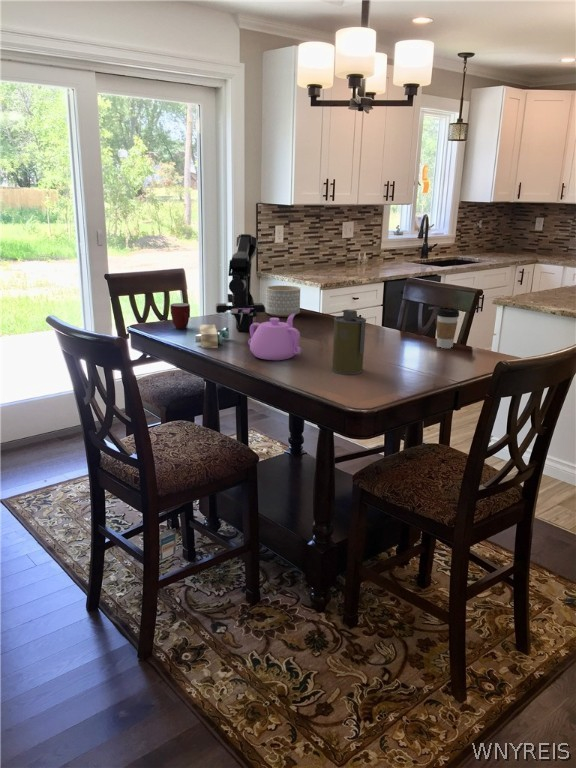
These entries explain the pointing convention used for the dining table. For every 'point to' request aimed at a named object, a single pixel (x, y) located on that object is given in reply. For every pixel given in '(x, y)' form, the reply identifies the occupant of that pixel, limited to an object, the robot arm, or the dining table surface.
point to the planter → (282, 300)
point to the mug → (180, 314)
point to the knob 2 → (224, 333)
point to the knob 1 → (198, 338)
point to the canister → (348, 343)
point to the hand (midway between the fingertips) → (240, 329)
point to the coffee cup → (446, 326)
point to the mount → (208, 336)
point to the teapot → (274, 339)
